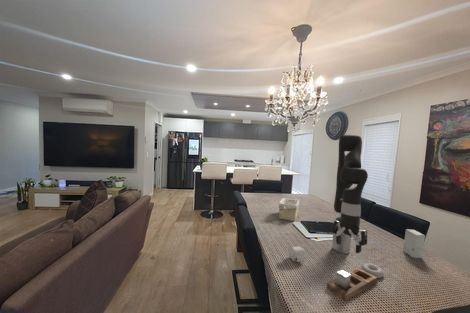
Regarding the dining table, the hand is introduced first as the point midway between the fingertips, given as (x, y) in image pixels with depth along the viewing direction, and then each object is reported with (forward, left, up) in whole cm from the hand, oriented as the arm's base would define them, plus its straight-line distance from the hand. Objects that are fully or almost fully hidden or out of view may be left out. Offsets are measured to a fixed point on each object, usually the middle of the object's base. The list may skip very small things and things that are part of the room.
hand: (347, 248), depth 92 cm
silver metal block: (-1, -1, -20) cm, 20 cm away
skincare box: (0, +72, -21) cm, 75 cm away
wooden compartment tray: (-1, +7, -21) cm, 22 cm away
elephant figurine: (-29, 0, -21) cm, 35 cm away
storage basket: (-85, +50, -21) cm, 101 cm away
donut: (-2, +27, -21) cm, 35 cm away
